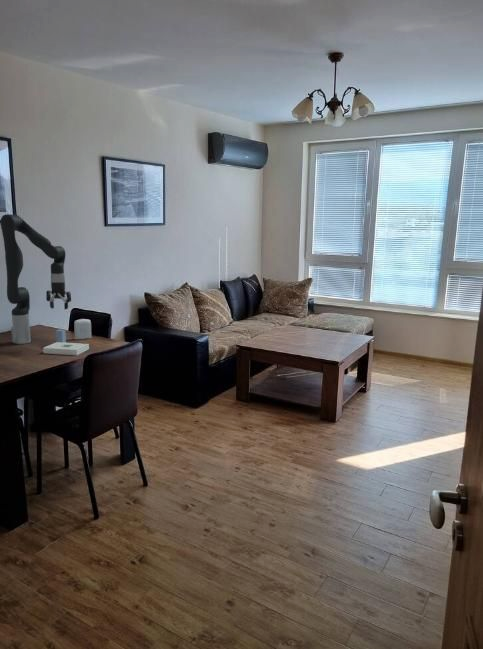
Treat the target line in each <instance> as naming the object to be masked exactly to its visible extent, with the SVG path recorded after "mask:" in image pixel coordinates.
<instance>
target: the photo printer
mask: <svg viewBox="0 0 483 649" xmlns="http://www.w3.org/2000/svg"><path fill="white" fill-rule="evenodd" d="M73 326H74V340H85V339H92V322H91V320H90V319H87V318H86V319H85V318H80V319H77V320H74V323H73Z"/></svg>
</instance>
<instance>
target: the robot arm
mask: <svg viewBox="0 0 483 649" xmlns="http://www.w3.org/2000/svg"><path fill="white" fill-rule="evenodd" d="M0 228H1V234H2V238H3V246H4V257H5V267H6V298H7V300H8V302H9V303H10V304H13V305H16V306H15V307H14V308H13V309H11V318H12V320H11V322H12V326H11V329H10V330H11V340H12V344H17V345H23V344H29V343H31V340H32V339H31V327H30V326H31V325H30V315H29V314H30V313H29V312H30V307H31V302H30V301H31V300H30V293H29V290H28V288H26V287H23V286H19V277H20V275H21V272H22V270H23V267H24V255H23V251H22V250H21V248H20V246H19V245H18V242H17V240H16V232H19V233H21V234H23V235H24V236H25V237H26V238H27V239H28V240H29V241H30V243H31V244H33V246H35V247H37V248H38V249H40V250H41V251H42V252H43V253H44V255H46V256H47V257H48V258H50V259H52V260H53V262H52V263H51V264H50V289H51V290H47V291H46V292H45V293H46V301H47V302H49V307H50V309H51V310H53V309H55V304H54V303H55V300H56V299H59V300H62V302H63V303H64V304H63V305H64V307H63V308H64V310H68V308H69V303H70V302H72V296H71V295H72V293H71V291H66V277H65V267H64V265H65V262H66V261H65V260H66V251H65V248H64V247H63V246H61V245H58V246H57V245H52V242H51V241H50V240H49V239H48V238H46V237H45V236H44V235H42V234H41V233H39V232H38V231H37V230H36V229H34V228H33V227H32V226H30V224H28V223H27V222H26V221H25V220H24V219H23V218H22V217H20V216H19V215H17V214H12V213H11V214H10V213H7V214H6V213H5V214H3V215H2V216H1V217H0Z"/></svg>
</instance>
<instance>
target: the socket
mask: <svg viewBox="0 0 483 649" xmlns="http://www.w3.org/2000/svg"><path fill="white" fill-rule="evenodd" d="M42 348H43V349H42V351H43V352H42V353H43V354H52V355H53V354H54V355H67V356H69V355H70V356H78V355H81V354H82V353H84V352H85V351H88V350H90V344H89V343H79V342H78V343H77V342H66V343H63V342H56V341H55V342H54V343H52V344H49V345H47V346H44V347H42Z"/></svg>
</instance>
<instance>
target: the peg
mask: <svg viewBox="0 0 483 649" xmlns="http://www.w3.org/2000/svg"><path fill="white" fill-rule="evenodd" d="M66 333H67V331H66V329H57V330H55V340H56V341H55V343H56V342H63V343H67V334H66Z"/></svg>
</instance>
